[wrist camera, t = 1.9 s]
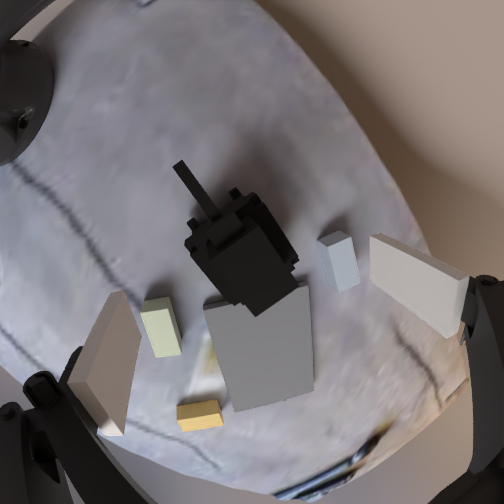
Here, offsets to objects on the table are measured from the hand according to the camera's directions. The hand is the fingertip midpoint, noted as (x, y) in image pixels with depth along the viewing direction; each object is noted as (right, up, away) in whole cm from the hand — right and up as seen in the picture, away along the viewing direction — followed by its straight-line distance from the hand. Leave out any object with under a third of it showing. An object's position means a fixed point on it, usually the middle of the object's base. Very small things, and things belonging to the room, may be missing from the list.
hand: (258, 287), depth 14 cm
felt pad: (+1, -11, +21) cm, 24 cm away
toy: (-3, +5, +15) cm, 16 cm away
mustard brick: (-8, -21, +23) cm, 32 cm away
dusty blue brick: (+9, +1, +19) cm, 21 cm away
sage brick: (-11, -6, +17) cm, 21 cm away
